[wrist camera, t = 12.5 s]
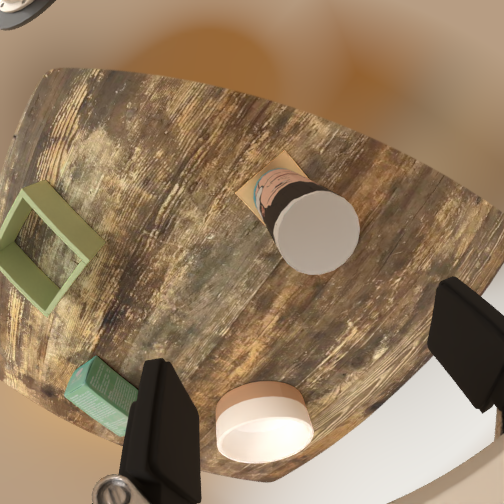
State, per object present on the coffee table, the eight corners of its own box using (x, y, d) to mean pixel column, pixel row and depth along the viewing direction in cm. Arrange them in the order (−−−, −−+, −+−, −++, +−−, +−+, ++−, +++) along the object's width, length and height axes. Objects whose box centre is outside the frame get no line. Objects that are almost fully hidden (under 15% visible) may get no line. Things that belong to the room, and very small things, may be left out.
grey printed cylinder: (316, 185, 36) (374, 218, 22) (289, 230, 38) (329, 286, 24) (270, 158, 34) (307, 174, 21) (243, 206, 36) (260, 253, 22)
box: (95, 352, 43) (82, 383, 36) (151, 397, 48) (146, 429, 41) (74, 367, 44) (61, 396, 37) (127, 408, 49) (121, 438, 42)
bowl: (196, 405, 50) (196, 441, 42) (274, 366, 47) (284, 403, 40) (248, 440, 56) (253, 470, 48) (317, 407, 54) (328, 439, 46)
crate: (45, 179, 32) (21, 188, 26) (106, 242, 36) (90, 260, 31) (9, 241, 34) (-12, 256, 28) (63, 296, 38) (47, 318, 33)
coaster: (284, 149, 35) (285, 149, 34) (323, 197, 37) (324, 198, 37) (234, 192, 36) (234, 193, 36) (276, 237, 39) (277, 238, 38)
